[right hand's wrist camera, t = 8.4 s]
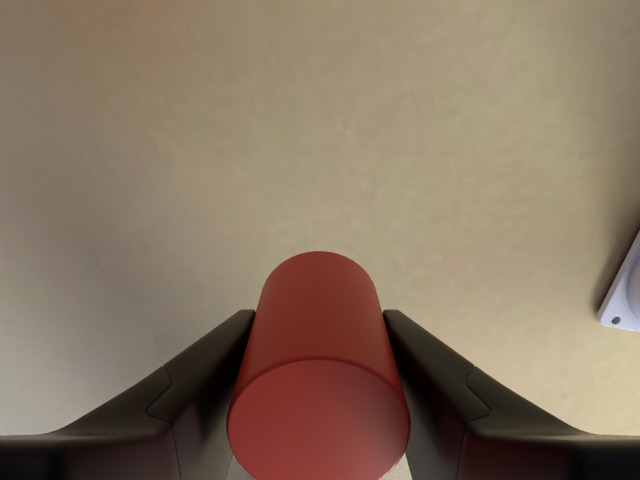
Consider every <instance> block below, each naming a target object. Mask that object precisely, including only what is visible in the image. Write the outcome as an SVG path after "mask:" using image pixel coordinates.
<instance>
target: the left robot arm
mask: <svg viewBox="0 0 640 480" xmlns="http://www.w3.org/2000/svg"><path fill="white" fill-rule="evenodd" d="M614 317H616V318H615V319H614V320H612V319H613V318H614ZM596 319H597V321H598V322H599V323H600V324H602V325H604V326H610V327H615V328H621V329H626V330H632V331H638V332H640V231H639V233H638V235H637V237H636V239H635V241H634V243H633V244H632V246H631V248H630V250H629V252H628V254H627V256H626V258H625V260H624V262H623V264H622V266H621V268H620V270H619V272H618V274H617V276H616V278H615V280H614V282H613V284H612V286H611V288H610V290H609V292H608V294H607V296H606V298H605V300H604V302H603V304H602V306H601V308H600V310H599V312H598V313H597V316H596Z"/></svg>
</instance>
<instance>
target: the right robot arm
mask: <svg viewBox="0 0 640 480" xmlns="http://www.w3.org/2000/svg"><path fill="white" fill-rule="evenodd" d="M255 314H256V312H255V310H240V311H238V312H237V313H236V314H234V315H233V316H231V317H230V318H229V319H227V320H226V321H224V322H223V323H222V324H220V325H219V326H217V327H216V328H215V329H213V330H212V331H210V332H209V333H208V334H206V335H205V336H203V337H202V338H201V339H199V340H198V341H196V342H195V343H194V344H192V345H191V346H189V347H188V348H187V349H185V350H184V351H182V352H181V353H180V354H178V355H177V356H176V357H174V358H173V359H171V360H170V361H169V362H167V363H166V364H164V366H161V367H160V368H159V369H157V370H156V371H154V372H153V373H152V374H150V375H149V376H147V377H146V378H144V379H143V380H141V381H140V382H138V383H137V384H135V385H134V386H132V387H131V388H129V389H127V390H126V391H124V392H123V393H121V394H119V395H118V396H116V397H114V398H113V399H111V400H109V401H108V402H106V403H104V404H103V405H101V406H99V407H98V408H96V409H94V410H93V411H91V412H89V413H88V414H86V415H84V416H83V417H81V418H79V419H78V420H76V421H74V422H72V423H71V424H69V425H67V426H65V427H63V428H61V429H58V430H56V431H52V432H49V433H45V434H39V435H13V436H0V480H226V476H227V472H228V469H229V465H230V462H231V458H232V455H233V452H232V450H231V448H230V444H229V441H228V437H227V431H226V417H227V413H228V408H229V405H230V401H231V398H232V394H233V391H234V387H235V384H236V380H237V377H238V373H239V370H240V366H241V363H242V359H243V356H244V352H245V349H246V345H247V342H248V338H249V335H250V331H251V328H252V324H253V321H254V317H255ZM383 318H384V321H385V325H386V329H387V332H388V336H389V340H390V343H391V347H392V350H393V354H394V358H395V361H396V365H397V369H398V372H399V376H400V379H401V383H402V387H403V390H404V394H405V398H406V401H407V405H408V409H409V413H410V418H411V432H410V438H409V441H408V445H407V448H406V450H405V454H406V458H407V461H408V465H409V469H410V472H411V476H412V480H640V436H624V435H598V434H592V433H588V432H585V431H581V430H579V429H577V428H574V427H572V426H570V425H568V424H567V423H565V422H563V421H561V420H560V419H558V418H556V417H555V416H553V415H551V414H550V413H548V412H546V411H545V410H543V409H541V408H540V407H538V406H536V405H535V404H533V403H531V402H530V401H528V400H526V399H525V398H523V397H521V396H520V395H518V394H517V393H515V392H513V391H512V390H510V389H509V388H507V387H505V386H504V385H502V384H501V383H499V382H498V381H496V380H495V379H493V378H492V377H490V376H489V375H488V374H486V373H485V372H483V371H482V370H481V369H479V368H478V367H476V366H475V367H474V365H473V364H472V363H471V362H469V361H468V360H467V359H465V358H464V357H462V356H461V355H460V354H458V353H457V352H455V351H454V350H453V349H451V348H450V347H449V346H447V345H446V344H444V343H443V342H442V341H440V340H439V339H437V338H436V337H435V336H433V335H432V334H431V333H429V332H428V331H426V330H425V329H424V328H422V327H421V326H419V325H418V324H417V323H415V322H414V321H413V320H411V319H410V318H408V317H407V316H406V315H404V314H403V313H401V312H400V311H399V310H384V311H383Z"/></svg>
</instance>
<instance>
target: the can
mask: <svg viewBox="0 0 640 480" xmlns="http://www.w3.org/2000/svg"><path fill="white" fill-rule="evenodd" d="M226 431H227V437H228V441H229V444H230V448H231V450H232V452H233V454H234V456H235V457H236V459H237V460H238V462H239V463H240V464H241V466H242V467H243V468H244V469H245V470H246V471H247V472H248V473H249V474H250V475H252V476H253V477H254V478H255V479H257V480H380V479H382V478H383V477H385V476H386V475H387V474H388V473H389V472H390V471H391V470H392V469H393V468H394V467H395V466H396V465H397V463H398V462H399V461H400V459H401V458H402V456H403V454H404V452H405V450H406V448H407V445H408V441H409V438H410V432H411V418H410V413H409V409H408V405H407V401H406V398H405V394H404V390H403V387H402V383H401V379H400V376H399V372H398V369H397V365H396V361H395V358H394V354H393V350H392V347H391V343H390V340H389V336H388V332H387V329H386V325H385V321H384V318H383V314H382V311H381V307H380V303H379V300H378V296H377V292H376V289H375V286H374V284H373V282H372V280H371V278H370V277H369V275H368V274H367V273H366V271H365V270H364V269H363V268H362V267H361V266H359V265H358V264H357V263H355V262H354V261H353V260H351V259H349V258H347V257H345V256H342V255H339V254H336V253H332V252H324V251H314V252H306V253H302V254H299V255H296V256H294V257H291V258H289V259H287V260H286V261H284V262H283V263H281V264H280V265H279V266H278V267H277V268H275V269H274V270H273V272H272V273H271V274H270V275H269V277H268V279H267V280H266V282H265V284H264V287H263V289H262V293H261V296H260V300H259V303H258V307H257V310H256V314H255V317H254V321H253V324H252V328H251V331H250V335H249V338H248V342H247V345H246V349H245V352H244V356H243V359H242V363H241V366H240V370H239V373H238V377H237V380H236V384H235V387H234V391H233V394H232V398H231V401H230V405H229V408H228V413H227V417H226Z"/></svg>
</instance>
